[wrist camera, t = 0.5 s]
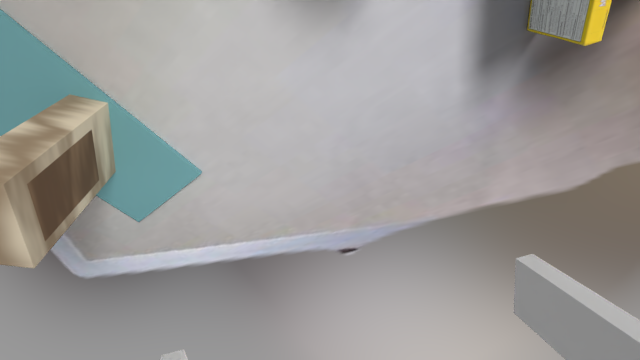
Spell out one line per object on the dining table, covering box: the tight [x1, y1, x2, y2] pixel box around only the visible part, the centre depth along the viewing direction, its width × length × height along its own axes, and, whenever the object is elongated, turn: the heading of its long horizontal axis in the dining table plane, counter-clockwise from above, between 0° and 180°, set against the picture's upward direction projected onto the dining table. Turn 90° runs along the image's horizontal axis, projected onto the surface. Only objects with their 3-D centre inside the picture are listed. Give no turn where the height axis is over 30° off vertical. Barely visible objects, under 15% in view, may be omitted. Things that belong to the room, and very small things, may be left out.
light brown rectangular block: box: [0, 94, 116, 268], centre depth 32 cm, size 4×10×16 cm, turn 164°
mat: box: [0, 9, 202, 222], centre depth 39 cm, size 26×14×1 cm, turn 37°
